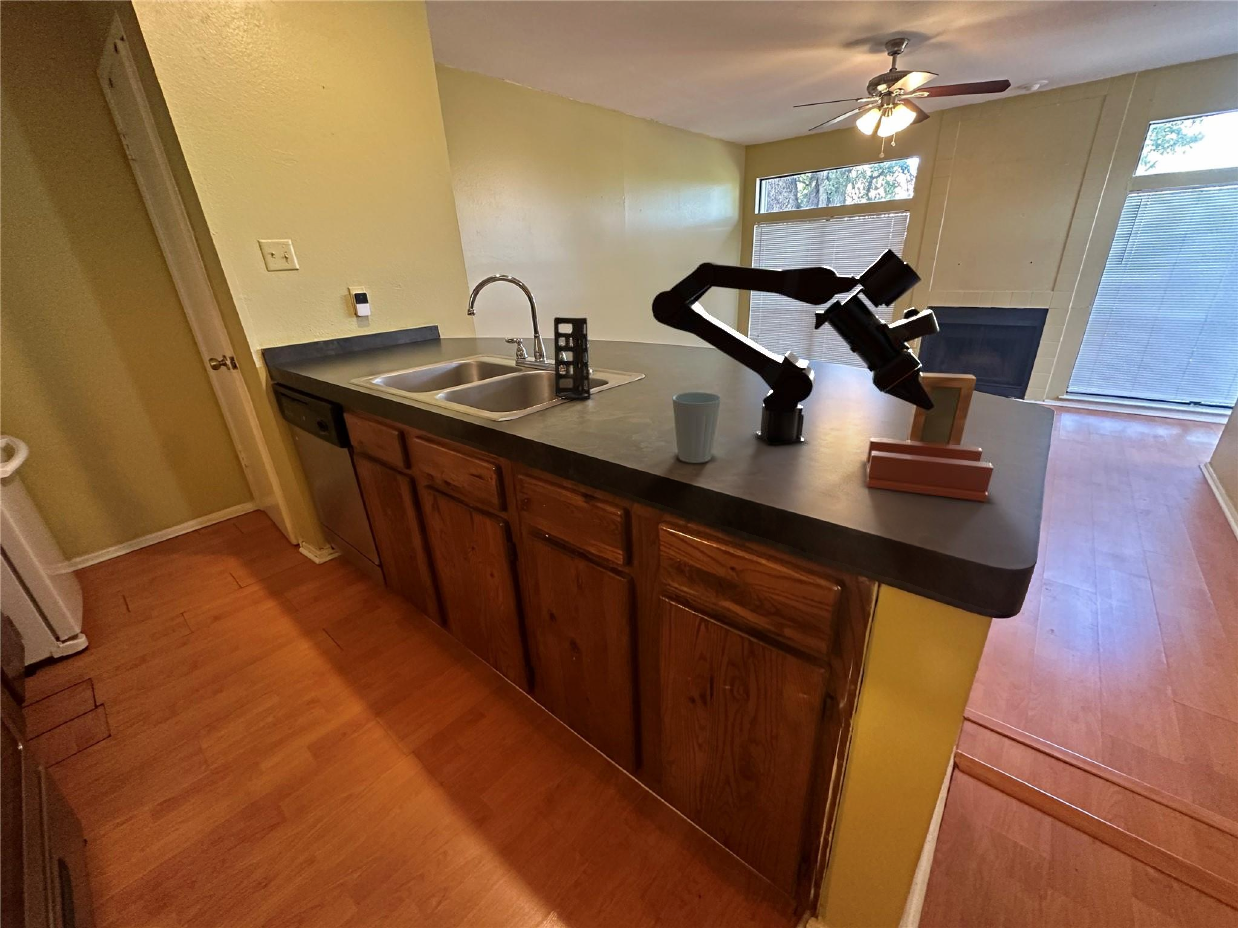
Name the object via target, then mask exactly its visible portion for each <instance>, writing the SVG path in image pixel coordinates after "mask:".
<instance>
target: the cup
mask: <svg viewBox="0 0 1238 928" xmlns="http://www.w3.org/2000/svg"><path fill="white" fill-rule="evenodd" d="M720 405H721V397H720V395H718V394H715V393H711V392H703V391H695V392H694V391H690V392H688V391H687V392H682V393H677V394H675V395H673V396H672V407H673V416H674V426H675V427H674V428H675V438H676V449H677V457H678V459H679V460H681V461H682V462H685V463H691V464H701V463H705V462H708V461H710V460H711V459H712V453H713V447H714V442H715V436H716V429H717V424H718V417H719V411H720Z"/></svg>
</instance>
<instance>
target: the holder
mask: <svg viewBox="0 0 1238 928" xmlns="http://www.w3.org/2000/svg"><path fill="white" fill-rule="evenodd" d="M560 325H571V332H560ZM560 339H564V346H561V345H560ZM553 340H554V341H553V342H554V345H553V346H554V380H555V381H554V385H555V388H554V389H555V390H554V391H555V395H554V396H555V397H558V398H563V399H566V400H567V399H569V400H577V401H579V400H580V401H581V400H582V401H586V400H591V397H592V396H591V395H592V394H591V382H590V367H589V366H590V365H589V335H588V317H559V316H558V317H557V316H556V317H554V318H553ZM571 343H572V344H571ZM560 353H572V354H571V355H572V358H571V360H562V359H560ZM563 366H564V367H565V373H561V371H560V370H561V369H560V367H563ZM571 366H572V371H571ZM561 380H572V387H571V386H568V387H567V386H563V387H562V386H561ZM586 381H587V382H586ZM586 383H587V384H586ZM586 385H587V386H586Z"/></svg>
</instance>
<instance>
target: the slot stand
mask: <svg viewBox="0 0 1238 928" xmlns="http://www.w3.org/2000/svg"><path fill="white" fill-rule="evenodd" d="M982 455H983V451H982V449H981V448H980V447H979V446H969V445H961V444H960V445H949V444H938V443H927V442H916V441H907V440H904V439H892V438H883V437H882V438H881V437H869V443H868V449H867V455H866V457H865V458H866V459H865V472H866V474H865V475H866V486H867V488H876V489H884V490H891V491H898V492H899V491H900V492H906V493H907V492H908V493H913V494H914V493H915V494H922V495H930V496H931V495H932V496H938V497H946V498H954V499H962V500H969V501H970V500H971V501H977V502H985V503H986V502H987V501H988V498H989V494H988V490H989V486H990V484H991V483H990V482H991V479H992V476H993V472H994V467H993V465H992V464H991V462H985V461H981V458H982Z"/></svg>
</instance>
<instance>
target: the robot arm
mask: <svg viewBox="0 0 1238 928" xmlns="http://www.w3.org/2000/svg"><path fill="white" fill-rule="evenodd" d="M921 281H922V278H921V277H920V275H919V274H918V273H917V272H916V271H915V270H914V269H913V267H912V266H911V265H910V264H909V263H908V262H905V261H904V260H903V259H902V258H901V257H899V255H897V254H896V253H895V252H894V251H893V249H892V248H887V249H886V250H885V251H884V252H883V253H882V254H881V255H880V256H879V257H878V258H877V260H876V261H874V263H872V264H871V265H870V266H869V267H868V268H867V269H866V270H865V271H863V272H862V273H861V274H860V275H859V276H855V275H854V274H851V275H841V274H838V273H837V271H836V270H835V269H834V268H832V267H829V266H827V265H826V266H825V265H823V266H810V267H799V268H790V269H775V268H763V267H751V266H741V265H740V266H739V265H729V264H719V263H716V262H713V261H712V262H711V261H705V262H702V263H700V264H699V265H698V266H697V267H696V268H695V269H694V270H693V271H692V272H691V273H689V274H688V275H686V276H685V277H684V278H683V279H682V280H680V281H679V282H677V283H675V285H673V286H672V287H671V288H670V289H669V290H664V291H661V292H659V293H657V294H656V295H655V297H654V298H653V300H652V303H651V312H652V316H653V319H655V321H656V322H658V323H660V324H662V325H664V326H666V327H669V328H672V329H675V330H678V331H682V332H685V333H689V334H692V335H694V336H696V337H697V338H700V340H702V341H704V342H705V343H707V344H708V345H711V346H712V347H714V348H715V349H717V350H718V351H720V352H721V353H723V354H724V355H726V356H728V357H730V358H731V359H733V360H735V361H736V362H738V363H739V364H741V365H742V366H745V367H746V368H747V369H749V370H751V371H752V372H753V373H756V374H757V375H758V376H759V377H760V378H761V380H763V381H764V383H765V384H766V385H767V386H768V388H769V391H768V392H767V394H766V395H765V397H764V398H763V399H762V403H763V404H762V407H761V420H760V431H756V432H755V433H756V436H758V437H759V438H760V439H761V440H763V441H764V442H766V443H767V444H768V445H771V446H774V445H775V446H776V445H788V444H798V443H799V444H800V443H804V442H805V439H804V438H803V437H802V436H803V430H804V421H805V420H804V419H805V414H804V413H803V409H804V408H803V406H802V405H800V404H799V403H802V402H804V401H805V400H807V399H808V398H809V397H810V395H811V394H812V393H813V389H814V387H815V382H816V375H815V371H814V370H813V368H811V366H809V364H810V361H809V360H805V359H802V358H800V357H798V356H797V354H795V353H794V352H793V351H791V350H788V351H787V352H786V353H785V355H784V356H782V355H778V354H774V353H772V352H771V351H769V350H767V349H766V348H764V347H762V346H761V345H759V344H757V343H756V342H754V341H753V340H751V339H749V338H747V337H746V336H744V335H743V334H741V333H739V332H737V330H734V329H732V328H731V327H729V326H728V325H726V324H724V323H723V322H721V321H720V320H718V319H716V318H715V317H713V316H712V315H709V314H708V313H707V312H706V311H705V309H704V308H703V307H702V306H701V304H700V303H699V301H700V300H701V299H702V298H703V297H704V296H705V295H706V294H707V293H708V292H709V290H711V289H712V288H713V287H714V288H722V289H731V290H739V291H740V290H741V291H751V292H760V293H769V294H770V293H771V294H775V295H780V296H783V297H786V298H788V299H791V300H794V301H798V302H801V303H804V304H808V305H811V306H823V305H826V304H828V302H830V301H832V299H834V298H835V296H837V295H843V294H846V293H850V292H852V290H854V289H855V288H856V287H857V286H859V285H860V287H859V288H858V289H857V290H856V291H855V292H853V293H852V294H851V295H850V296H848V297H847V298H846V299H845V300H844V301H843V302H842V300H840V299H839V298H837V299H836V300H835V301H833V302H832V303H831V304H830V305H829V306H828V307H827V308H825V310H823V311H819V310H818V311H815V313H814V318H815V321H814V326H813V329H814V330H815V331H817V330H819V329H821V328H822V327H823V326H824V325H825V324H826V323H827V324H828V325H829V326H830V327H831V329H833V330H834V332H835V333H836V334H837V335H838V336H839V338H841V339H842V340H843V341H844V342H845V344H846V345H847V346H848V347H849V350H850V352H851V353H853V354H856V355H857V357H858V358H859V359H860V360H861V361H862V362H863V363H864V364H865V365H866V368H867V369H868V371H870V373H872V375H871V382H872V384H873V385H874V387H875V388H876V389H877V390H878V391H879V392H880V393H883V394H885V395H888V396H892V397H894V398H897V399H900V400H902V401H904V402H906V403H909V404H911V405H912V406H913V405H915V406H918V407H920V408H922V409H925V410H927V411H929V410H931V409H932V408H934V404H933V402H932V401H931V399H930V397H929V396H928V394H927V392H926V391H925V389H924V387H923V386H922V384H921V382H920V380H919V375H920V373H921V370H922V369H923V368H922V366H923V365H922V363H921V362H920V360H919V359H918V358H917V357H916V356H915V355H914V354H913V353H914V352H913V350H912V349H911V347H910V345H909V344H908V342H911V341H914V340H917V339H919V338H923V337H926V336H931V335H934V334H936V333H939V331H940V328H939V326H938V322H937V319H936V316H935V314H934V311H933V310H931V309H924V310H923V311H921V312H920V310H918V308H916V307H911V308H908V309H906V310H903V313H902V319H898V320H897V321H895V322H894V323H891V324H888V322H887V321H886V320H885V319H883V320H882V319H880V318H879V317H878V315H877V314H875V312H874V311H873V310H872V309H871V308H870V307H869V306H868V305H867V303H866V302H864V301H863V300H862V299H861V297H860V296H859V295H860V294H862V295H863V296H864V297H865V298H866V299H867V300H868V302H869V303H871V304H872V305H873V306H874V308H875V309H878V308H879V307H882V306H883V305H884V306H885V307H886V308H887V309H888V308H889V307H890V306H891V305H893V304H894V303H895V302H897V301H898V300H899V299H900V298H902V296H904V295H906V294H907V293H908V292H909V291H910V290H911V289H912V288H914V287H915V286H917V284H918V283H920V282H921Z"/></svg>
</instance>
